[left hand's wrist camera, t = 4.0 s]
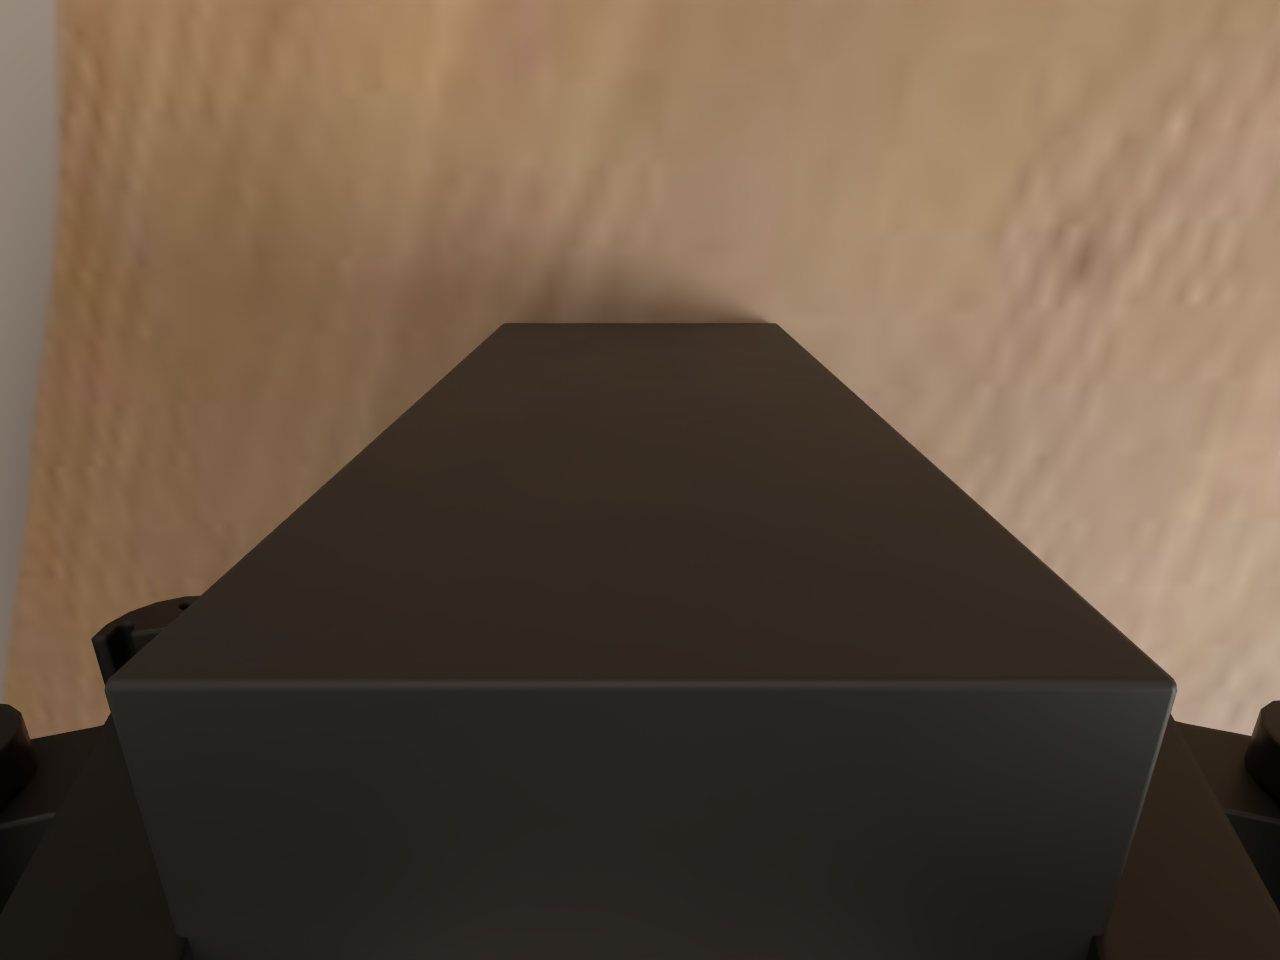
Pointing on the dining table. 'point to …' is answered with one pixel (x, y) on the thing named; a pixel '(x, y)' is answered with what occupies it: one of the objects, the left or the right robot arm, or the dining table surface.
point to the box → (640, 686)
